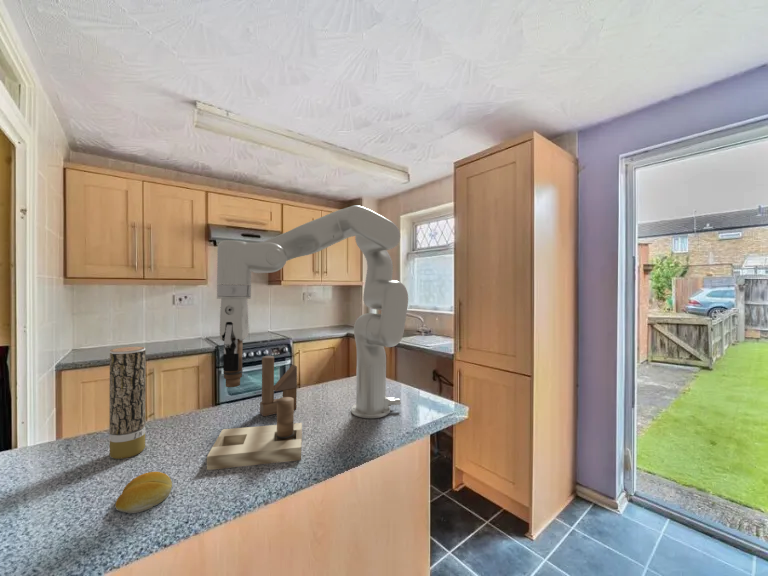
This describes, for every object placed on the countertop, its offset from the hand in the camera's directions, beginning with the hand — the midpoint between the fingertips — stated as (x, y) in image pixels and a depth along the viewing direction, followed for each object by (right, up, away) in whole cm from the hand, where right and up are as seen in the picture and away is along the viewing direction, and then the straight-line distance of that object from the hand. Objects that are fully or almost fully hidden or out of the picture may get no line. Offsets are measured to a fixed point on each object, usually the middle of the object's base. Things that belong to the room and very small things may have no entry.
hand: (233, 367), depth 80 cm
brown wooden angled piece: (+3, -21, +27) cm, 34 cm away
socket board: (+6, -21, +2) cm, 22 cm away
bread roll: (-9, -21, -17) cm, 29 cm away
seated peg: (+12, -21, +3) cm, 24 cm away
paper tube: (-25, -21, 0) cm, 32 cm away
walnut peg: (0, -4, 0) cm, 4 cm away
